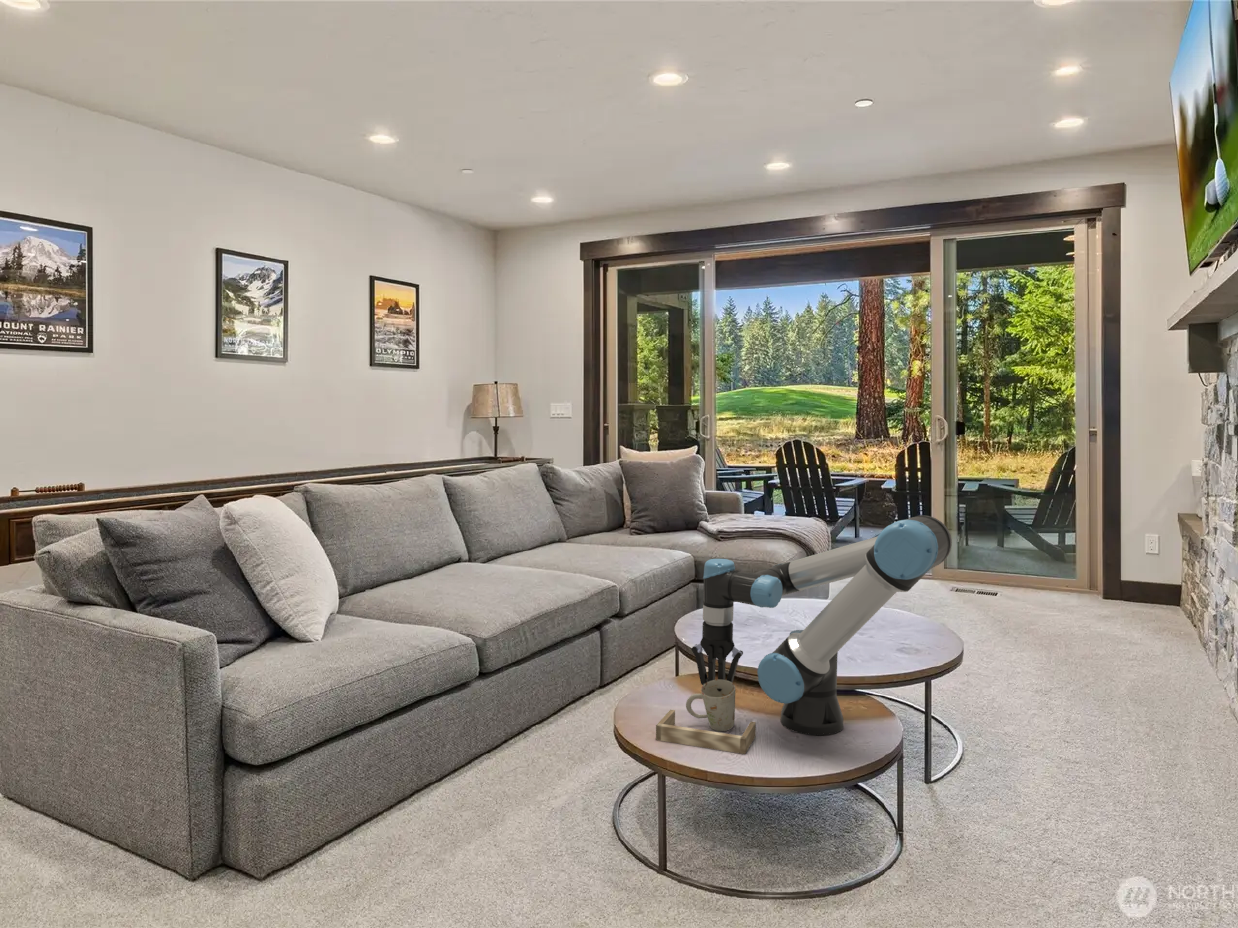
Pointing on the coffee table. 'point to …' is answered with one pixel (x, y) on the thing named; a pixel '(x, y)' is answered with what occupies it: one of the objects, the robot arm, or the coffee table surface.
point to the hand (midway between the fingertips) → (715, 713)
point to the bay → (704, 736)
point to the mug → (716, 704)
